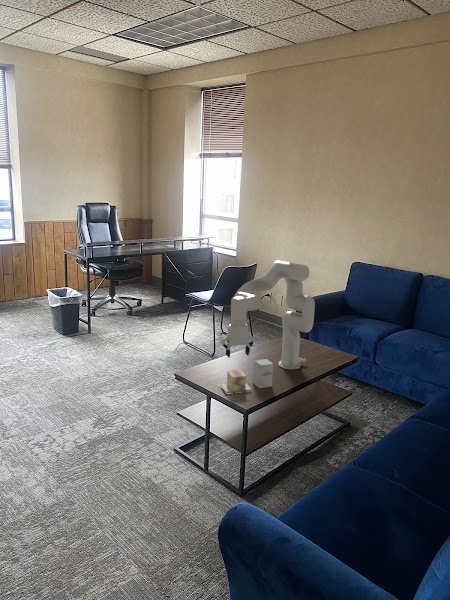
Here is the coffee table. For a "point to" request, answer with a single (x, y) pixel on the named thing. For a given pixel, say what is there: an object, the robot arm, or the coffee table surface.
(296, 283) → the robot arm
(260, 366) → the supplement box
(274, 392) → the coffee table surface
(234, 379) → the beech block
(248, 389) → the sage board
